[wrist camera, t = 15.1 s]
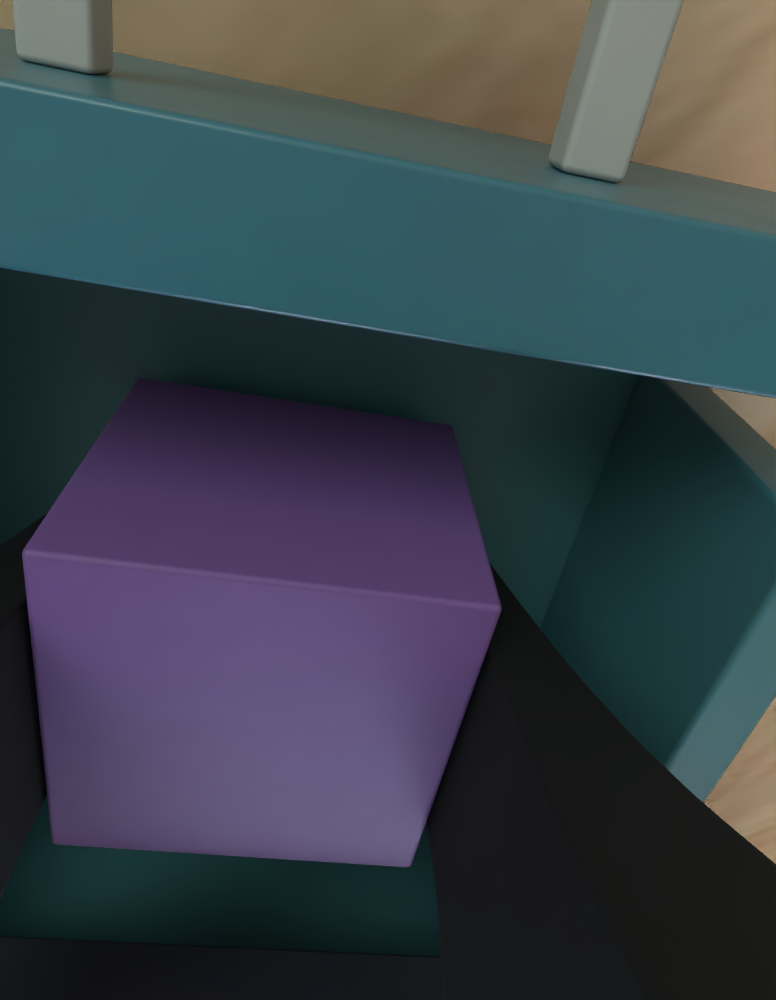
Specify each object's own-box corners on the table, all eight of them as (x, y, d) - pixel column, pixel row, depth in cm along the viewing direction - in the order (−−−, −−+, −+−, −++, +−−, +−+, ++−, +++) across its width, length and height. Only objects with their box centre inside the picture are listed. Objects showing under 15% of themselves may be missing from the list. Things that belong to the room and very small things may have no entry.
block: (137, 619, 12) (50, 846, 8) (137, 375, 10) (17, 551, 6) (395, 647, 12) (411, 869, 9) (453, 423, 10) (504, 609, 7)
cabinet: (-71, 576, 14) (-405, 989, 8) (577, 648, 16) (722, 1029, 10) (0, 940, 22) (-144, 1304, 16) (438, 961, 24) (470, 1292, 18)
